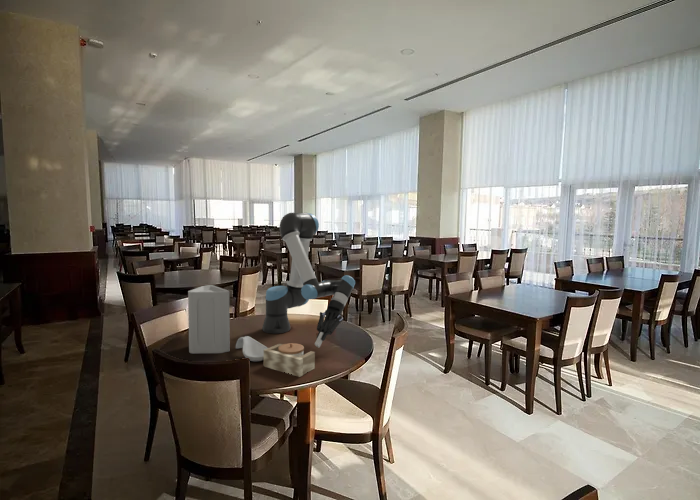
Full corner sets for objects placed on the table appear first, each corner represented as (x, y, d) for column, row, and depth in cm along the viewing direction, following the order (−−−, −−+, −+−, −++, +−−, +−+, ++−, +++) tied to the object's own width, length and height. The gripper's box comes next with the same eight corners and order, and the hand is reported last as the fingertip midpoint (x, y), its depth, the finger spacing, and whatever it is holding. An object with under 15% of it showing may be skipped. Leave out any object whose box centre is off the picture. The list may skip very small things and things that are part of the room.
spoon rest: (275, 360, 167) (275, 344, 166) (250, 367, 159) (250, 350, 159) (250, 345, 185) (250, 331, 184) (227, 350, 177) (227, 335, 176)
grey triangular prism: (181, 347, 180) (180, 288, 178) (212, 340, 190) (211, 284, 188) (198, 358, 166) (197, 295, 164) (230, 350, 177) (230, 291, 174)
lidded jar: (306, 361, 166) (306, 340, 166) (300, 371, 156) (300, 348, 155) (282, 359, 167) (282, 338, 167) (274, 369, 157) (275, 347, 156)
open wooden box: (263, 366, 160) (263, 350, 159) (279, 358, 168) (279, 343, 168) (299, 377, 150) (299, 359, 149) (314, 368, 159) (314, 352, 158)
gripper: (351, 309, 188) (331, 352, 175) (329, 305, 195) (309, 346, 182) (346, 301, 183) (325, 344, 170) (323, 297, 190) (302, 339, 177)
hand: (316, 345), depth 176 cm, fingers closed
